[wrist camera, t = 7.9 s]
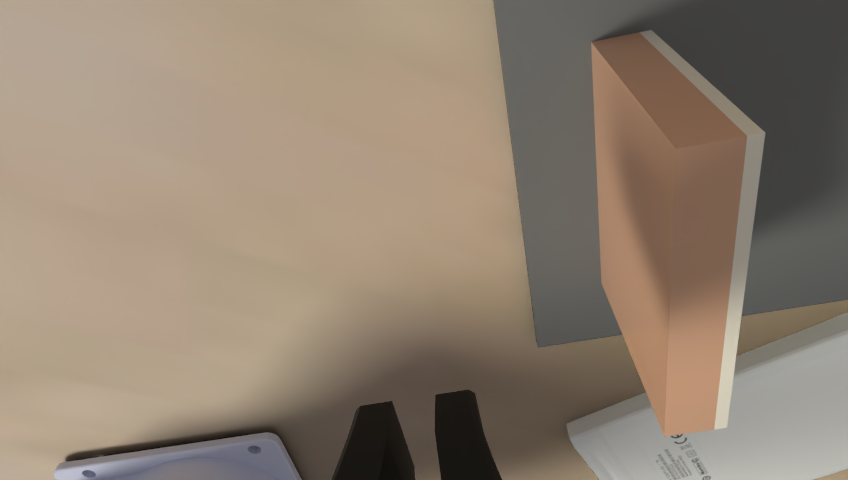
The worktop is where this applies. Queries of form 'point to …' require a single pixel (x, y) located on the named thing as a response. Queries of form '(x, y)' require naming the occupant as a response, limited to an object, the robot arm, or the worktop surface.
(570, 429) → the external hard drive
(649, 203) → the tile
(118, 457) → the robot arm
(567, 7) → the mat
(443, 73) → the worktop surface
